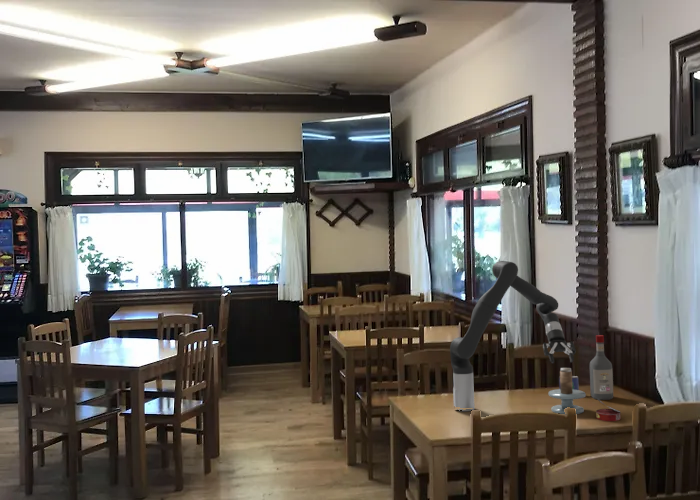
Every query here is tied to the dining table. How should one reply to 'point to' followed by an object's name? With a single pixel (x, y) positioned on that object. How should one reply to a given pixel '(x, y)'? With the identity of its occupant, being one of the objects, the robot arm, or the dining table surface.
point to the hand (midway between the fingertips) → (562, 361)
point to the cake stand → (567, 400)
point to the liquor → (601, 373)
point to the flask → (573, 383)
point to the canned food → (607, 414)
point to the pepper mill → (566, 381)
